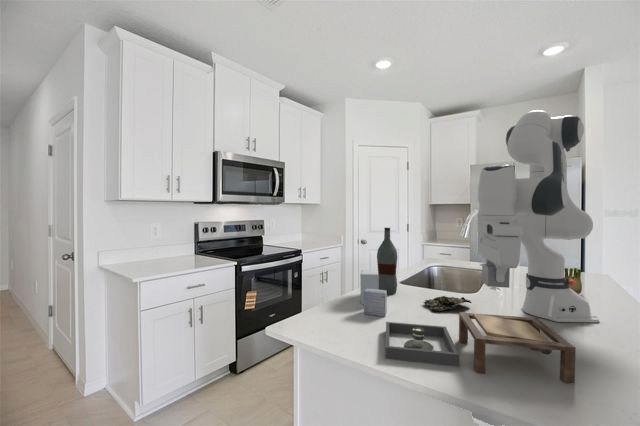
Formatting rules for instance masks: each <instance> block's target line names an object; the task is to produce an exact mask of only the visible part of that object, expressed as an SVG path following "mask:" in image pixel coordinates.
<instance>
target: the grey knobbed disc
mask: <svg viewBox="0 0 640 426" xmlns="http://www.w3.org/2000/svg"><path fill="white" fill-rule="evenodd" d="M412 333H413V335H412V338H413V339H410V340H407V341H405V342H404V347H405V348H414V349H424V350H434V345H432V344H431V343H430V342H428V341H425V340H424V338H425V336H424V334H425V332H424V329H422V328H419V327H414V328H413V330H412Z"/></svg>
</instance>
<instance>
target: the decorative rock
mask: <svg viewBox="0 0 640 426" xmlns="http://www.w3.org/2000/svg"><path fill="white" fill-rule="evenodd" d="M464 303H469V304H472V303H473V302H472V301H471V300H469V299H467V298H465V297H464V296H463V297H454V296H451V297H450V296H445V295H443V296H436V297H434V298H432V299H425V300H424V302H423V304H424V305H426V306H428V307H429V308H430V310H431V311H434V312H443V311H445V310H448V311H451V310H453V309H456V308H457V306H458V305H460V304H464Z"/></svg>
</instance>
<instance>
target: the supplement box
mask: <svg viewBox="0 0 640 426" xmlns="http://www.w3.org/2000/svg"><path fill="white" fill-rule="evenodd" d="M359 276H360V305H364V291H365V290H366V289H377V290H379V275H378V270H360V275H359Z"/></svg>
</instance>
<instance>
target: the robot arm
mask: <svg viewBox="0 0 640 426" xmlns="http://www.w3.org/2000/svg"><path fill="white" fill-rule="evenodd" d="M584 127H585V126H584V123H583V122H582V119H581V117H579V116H577V115H564V116H556V117H555V116H554V117H553V116H551V115H550V114H549V113H548V112H546V111H544V110H538V109H536V110H531V111H529V112H526V113H525V114H523V115H522V116H521V117H520V118H519V120H518V121H517V122H516V123H515V125H513V126H511V127H510V128H509V129H508V130H507V131H506V137H505V143H506V144H505V145H506V149H507V153H508V155H509V156H510V157H511V159H513V160H514V161H516V162H517V163H519V164H523V165H529V174H528V175H529V177H528V178H527V177H526V178H525V177H524V178H523V177H522V178H516V171H515V170H516V169H515V167H514V165H513V164H509V163H508V164H495V165H489V166H485V167H483V168H482V169H481V170H480V175H479V180H478V187H477V202H478V205H479V207H478V208H479V209H478V211H477V222H476V223H477V224H476V225H477V227H476V228H477V229H476V232H477V233H479V234H478V239H477V240H478V241H477V253H478V256H479V257H481V258H484V264H496V268H497V270H496V274H495V280H496V281H497V282H504V279H505V273H506V271H507V268H510V269H517V268H518V267H519V264H520V259H521V244H522V246H523V247H524V250H525V253H526V258H527V259H526V260H527V262H526V263H527V273H526V274H525V288H526V291H525V297H524V301H523V304H522V307H521V310H522V311H523V312H525V313H526V314H529V315H531V316H534V317H538V318H543V319H546V320H549V321H553V322H556V323H557V322H558V323H600V318H599V317H598V316H597V315H595V314H594V313H593V312H591V307H590V304H589V302H588V301H587V299H585V298H584V297H583V296H581V295H580V294H577V293H576V292H575V291H573V290H572V289H571V288H570V286H569V285H571V286H576V285H577V282H576V281H574V280H569V279H567V278H565V264H566V263H565V260H566V259H565V257H564V255H563V254H562V253H561V252H560V251H559V250H556V249H554V248H553V247H550V246H548V245H547V244H546V243H545V241H544V240H545V239H546V240H547V239H549V240H550V239H551V240H565V241H570V240H580V239H586V238H587V237H589V235H590V234H591V232H592V231H593V230H594V223H593V219H592V217H591V216H590V215H589V213H587V212H586V211H584V210H583V209H581V208H580V207H579V206H577V205H576V204H575V203H574V202H573V200H572V199H571V196H570V194H569V191H568V182H567V179H568V178H567V177H568V176H567V173H568V172H567V170H568V168H567V167H568V166H567V156H566V153H568V152H570V151H571V149H573V148H575V147H576V146H578V144H580V142H582V141H581V140H582V138H583V136H584V133H585V132H584V131H585V128H584Z"/></svg>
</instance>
